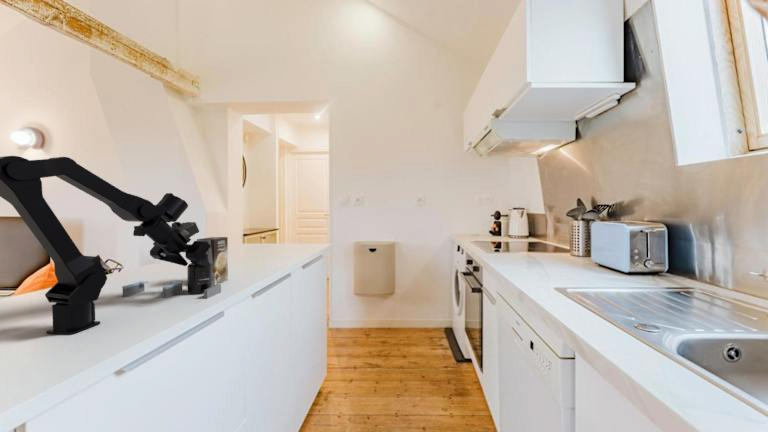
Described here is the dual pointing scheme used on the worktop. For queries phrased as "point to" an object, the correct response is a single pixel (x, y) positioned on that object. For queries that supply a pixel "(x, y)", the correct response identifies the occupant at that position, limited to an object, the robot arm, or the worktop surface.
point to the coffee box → (218, 258)
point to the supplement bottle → (198, 278)
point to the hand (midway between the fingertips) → (197, 265)
